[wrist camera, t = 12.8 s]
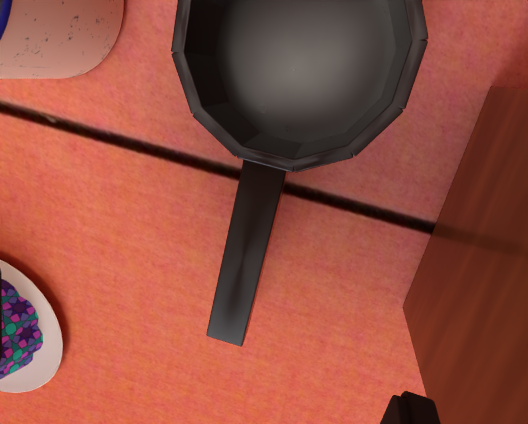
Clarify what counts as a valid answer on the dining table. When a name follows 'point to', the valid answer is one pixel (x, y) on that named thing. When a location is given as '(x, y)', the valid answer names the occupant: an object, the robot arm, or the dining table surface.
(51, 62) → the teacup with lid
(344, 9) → the pan
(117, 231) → the dining table surface
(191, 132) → the dining table surface
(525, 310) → the wooden cube
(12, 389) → the pudding
